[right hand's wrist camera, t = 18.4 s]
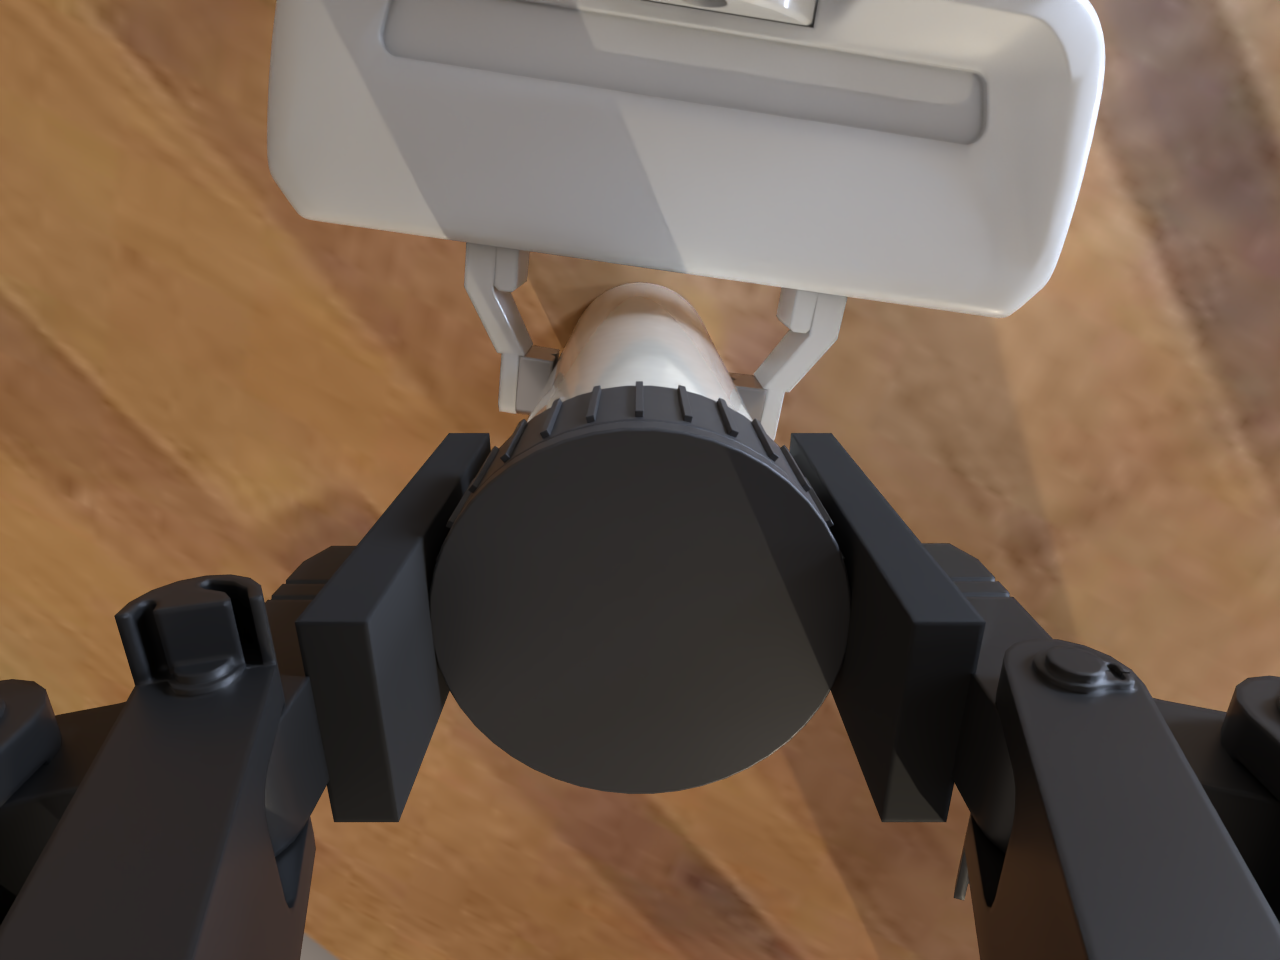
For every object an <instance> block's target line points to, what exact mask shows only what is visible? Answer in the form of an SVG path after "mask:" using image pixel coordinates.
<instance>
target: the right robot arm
mask: <svg viewBox="0 0 1280 960" xmlns="http://www.w3.org/2000/svg"><path fill="white" fill-rule="evenodd" d="M490 452H491V449H490V437H489V433H449V434H448V435H447V436H446V438H445V439H444V440H443V441H442V443H441V444H440V445H439V446H438V447H437V449H436V450H435V451H434V452H433V454H432V455H431V456H430V457H429V458H428V460H427V461H426V462H425V463H424V464H423V466H422V467H421V468H420V469H419V471H418V472H417V473H416V474H415V475H414V477H413V478H412V479H411V480H410V482H409V483H408V484H407V485H406V486H405V488H404V489H403V490H402V491H401V493H400V494H399V495H398V496H397V497H396V499H395V500H394V501H393V502H392V504H391V505H390V506H389V507H388V508H387V510H386V511H385V512H384V513H383V515H382V516H381V517H380V518H379V519H378V521H377V522H376V523H375V524H374V526H373V527H372V528H371V529H370V530H369V532H368V533H367V534H366V535H365V537H364V538H363V539H362V540H361V541H360V543H359V544H358V545H357V546H331V547H329V548H327V549H325V550H323V551H322V552H320V553H318V554H316V555H315V556H313V557H311V558H309V559H307V560H306V561H304V562H303V563H302V564H301V565H300V566H299V567H298V568H297V569H296V570H295V571H294V572H293V573H292V574H291V576H290V577H289V578H288V579H287V580H286V584H282V585H281V586H280V587H279V588H278V589H277V591H276V592H275V593H274V594H273V595H272V599H271V600H267V601H266V602H264V598H263V593H262V588H261V585H259V584H258V583H257V582H255V581H254V580H252V579H251V578H248V577H242V576H236V575H209V576H202V577H197V578H191V579H186V580H181V581H177V582H174V583H171V584H169V585H166V586H163V587H160V588H157V589H154V590H151V591H150V592H148V593H146V594H144V595H142V596H140V597H138V598H136V599H135V600H133V601H131V602H129V603H128V604H127V605H126V606H125V607H124V608H122V609H121V610H120V611H119V612H118V613H117V614H116V615H115V620H116V623H117V626H118V630H119V633H120V636H121V640H122V643H123V646H124V649H125V653H126V656H127V659H128V663H129V666H130V669H131V673H132V676H133V679H134V683H135V687H134V689H133V691H132V693H131V694H130V696H129V698H128V700H127V701H126V702H123V703H119V704H114V705H108V706H103V707H98V708H93V709H87V710H82V711H77V712H71V713H66V714H61V715H56V716H55V715H54V712H53V709H52V706H51V703H50V700H49V698H48V695H47V692H46V689H44V688H43V687H41V686H40V685H38V684H37V683H36V682H34V681H25V680H15V679H10V680H2V681H0V960H300V955H301V948H302V941H303V934H304V927H305V920H306V913H307V906H308V899H309V892H310V885H311V878H312V871H313V865H314V858H315V851H316V847H315V839H314V832H313V828H312V823H311V818H310V815H311V813H312V811H313V810H314V808H315V806H316V804H317V802H318V800H319V798H320V797H321V795H322V793H323V791H324V789H325V787H326V785H327V788H328V793H329V798H330V803H331V809H332V814H333V819H334V822H399V820H400V817H401V814H402V812H403V809H404V807H405V804H406V802H407V799H408V796H409V794H410V791H411V789H412V786H413V784H414V781H415V778H416V776H417V773H418V771H419V768H420V766H421V763H422V760H423V758H424V755H425V753H426V750H427V747H428V745H429V742H430V740H431V737H432V735H433V732H434V729H435V727H436V724H437V722H438V719H439V717H440V714H441V711H442V709H443V706H444V704H445V701H446V699H447V696H448V693H449V691H450V690H449V689H448V687H447V684H446V682H445V680H444V678H443V675H442V673H441V671H440V669H439V666H438V663H437V660H436V656H435V651H434V644H433V635H432V627H431V619H430V609H429V591H430V586H431V580H432V575H433V570H434V567H435V564H436V561H435V559H436V557H437V556H438V554H439V552H440V549H441V546H442V544H443V542H444V541H445V539H446V537H447V535H448V533H449V531H450V528H448V527H446V525H447V522H448V520H449V519H450V517H451V515H452V514H453V512H454V510H455V509H456V507H457V505H458V504H459V502H460V500H461V499H462V497H463V495H464V494H465V492H466V490H467V489H468V487H469V485H470V484H471V482H472V480H473V479H474V478H475V477H476V475H477V474H478V472H479V470H480V469H481V467H482V465H483V463H484V462H485V460H486V458H487V457H488V455H489V453H490ZM790 454H791V455H792V457H793V459H794V460H795V462H796V464H797V465H798V467H799V469H800V470H801V472H802V474H803V476H804V477H806V478H807V480H808V482H809V483H810V485H811V487H812V488H813V490H814V492H815V493H816V495H817V497H818V498H819V500H820V502H821V503H822V505H823V507H824V508H825V510H826V512H827V513H828V515H829V517H830V518H831V520H832V522H833V524H834V525H833V526H831V527H829V529H830V531H831V533H832V535H833V537H834V538H835V540H836V542H837V544H838V547H839V549H840V551H841V552H842V554H843V556H844V558H845V566H846V570H847V575H848V580H849V585H850V591H851V613H850V622H849V631H848V639H847V646H846V653H845V657H844V660H843V664H842V666H841V669H840V671H839V673H838V676H837V678H836V680H835V683H834V685H833V687H832V688H831V692H832V695H833V697H834V700H835V703H836V705H837V708H838V710H839V713H840V715H841V718H842V721H843V723H844V726H845V728H846V731H847V733H848V736H849V739H850V741H851V744H852V746H853V749H854V751H855V754H856V757H857V759H858V762H859V764H860V767H861V770H862V772H863V775H864V777H865V780H866V782H867V785H868V788H869V790H870V793H871V795H872V798H873V800H874V803H875V806H876V808H877V811H878V813H879V816H880V818H881V821H882V822H946V821H947V816H948V811H949V806H950V801H951V796H952V791H953V786H954V782H955V784H956V786H957V788H958V790H959V792H960V794H961V795H962V797H963V799H964V801H965V803H966V805H967V807H968V808H969V810H970V812H971V814H970V818H969V823H968V828H967V832H966V837H965V842H964V846H963V851H962V856H961V861H960V865H959V870H958V875H957V879H956V885H955V892H954V898H956V899H960V900H964V899H965V895H966V890H967V886H968V884H970V891H971V898H972V905H973V911H974V918H975V925H976V932H977V939H978V946H979V953H980V960H1280V677H1275V676H1262V677H1253V678H1247V679H1246V680H1244V681H1243V682H1241V683H1240V684H1238V685H1237V686H1236V688H1235V691H1234V694H1233V697H1232V699H1231V702H1230V705H1229V708H1228V711H1227V712H1222V711H1217V710H1212V709H1206V708H1201V707H1196V706H1190V705H1185V704H1180V703H1174V702H1169V701H1164V700H1159V699H1155V698H1152V697H1151V695H1150V693H1149V691H1148V689H1147V688H1146V686H1145V684H1144V683H1143V682H1142V681H1141V680H1140V679H1139V678H1138V677H1137V675H1136V674H1135V673H1134V672H1133V671H1132V670H1131V669H1130V668H1128V667H1126V666H1125V665H1123V664H1122V663H1120V662H1119V661H1117V660H1115V659H1114V658H1112V657H1111V656H1109V655H1106V654H1104V653H1101V652H1099V651H1097V650H1094V649H1092V648H1089V647H1087V646H1084V645H1080V644H1075V643H1071V642H1067V641H1063V640H1058V639H1052V638H1051V637H1050V636H1049V635H1048V634H1047V633H1046V631H1045V630H1044V629H1043V628H1042V627H1041V626H1040V625H1039V624H1038V623H1037V622H1036V621H1035V620H1034V619H1033V618H1032V617H1031V615H1030V614H1029V613H1028V612H1027V611H1026V610H1025V609H1024V608H1023V607H1022V606H1021V605H1020V604H1019V603H1018V602H1017V601H1016V600H1015V598H1014V597H1010V596H1009V592H1008V591H1007V590H1006V589H1005V588H1004V587H1003V586H1002V585H1001V584H1000V582H999V581H995V577H994V576H993V575H992V574H991V573H990V572H989V571H988V570H987V569H986V568H985V566H984V565H983V564H982V563H981V562H980V561H979V560H978V559H976V558H975V557H973V556H971V555H969V554H967V553H966V552H964V551H962V550H960V549H958V548H956V547H955V546H953V545H951V544H949V543H921V542H920V541H919V540H918V538H917V537H916V536H915V535H914V534H913V532H912V531H911V530H910V529H909V527H908V526H907V525H906V524H905V523H904V521H903V520H902V519H901V518H900V516H899V515H898V514H897V513H896V512H895V510H894V509H893V508H892V507H891V505H890V504H889V503H888V502H887V501H886V499H885V498H884V497H883V496H882V494H881V493H880V492H879V491H878V490H877V488H876V487H875V486H874V485H873V483H872V482H871V481H870V480H869V479H868V477H867V476H866V475H865V474H864V472H863V471H862V470H861V469H860V468H859V466H858V465H857V464H856V463H855V461H854V460H853V459H852V458H851V457H850V455H849V454H848V453H847V452H846V450H845V449H844V448H843V447H842V446H841V444H840V443H839V442H838V441H837V439H836V438H835V437H834V436H833V435H832V433H791V442H790Z"/></svg>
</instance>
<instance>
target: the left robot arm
mask: <svg viewBox="0 0 1280 960" xmlns="http://www.w3.org/2000/svg"><path fill="white" fill-rule="evenodd" d="M1104 72H1105V45H1104V38H1103V32H1102V28H1101V24H1100V21H1099V19H1098V16H1097V14H1096V12H1095V10H1094V8H1093V6H1092V5H1091V3H1090V2H1089V1H1088V0H277V1H276V9H275V18H274V27H273V35H272V46H271V59H270V72H269V89H268V115H267V158H268V165H269V170H270V173H271V175H272V177H273V179H274V181H275V182H276V184H277V185H278V187H279V188H280V189H281V191H282V192H283V194H284V195H285V197H286V198H287V200H288V201H289V202H290V204H291V205H292V206H293V208H294V209H295V210H296V212H297V213H298V214H299V215H300V216H302V217H304V218H305V219H309V220H315V221H321V222H328V223H335V224H342V225H349V226H356V227H363V228H370V229H377V230H384V231H391V232H398V233H405V234H412V235H419V236H426V237H433V238H440V239H447V240H454V241H461V242H466V262H465V282H464V287H465V289H466V291H467V293H468V295H469V297H470V299H471V301H472V303H473V305H474V307H475V309H476V311H477V313H478V315H479V317H480V319H481V321H482V323H483V325H484V327H485V329H486V331H487V333H488V335H489V337H490V339H491V341H492V343H493V345H494V347H495V349H496V352H497V353H501V354H502V355H501V370H500V384H499V399H498V406H499V411H502V412H508V413H513V414H516V413H517V414H526V415H530V414H531V412H532V410H533V408H534V406H535V404H536V402H537V400H538V398H539V396H540V394H541V392H542V390H543V388H544V386H545V384H546V382H547V380H548V378H549V377H550V375H551V373H552V371H553V369H554V367H555V365H556V363H557V361H558V359H559V349H553V348H547V347H541V346H534V345H533V342H532V340H531V338H530V336H529V333H528V331H527V329H526V326H525V324H524V322H523V319H522V317H521V315H520V313H519V310H518V308H517V306H516V303H515V301H514V299H513V297H512V294H511V292H513V291H514V290H515V289H517V288H518V287H520V286H521V285H522V284H524V283H525V282H526V281H527V275H528V264H529V253H530V251H531V252H538V253H545V254H552V255H559V256H566V257H573V258H580V259H587V260H594V261H601V262H608V263H615V264H622V265H629V266H636V267H643V268H650V269H657V270H664V271H671V272H678V273H685V274H692V275H699V276H706V277H713V278H720V279H727V280H734V281H741V282H748V283H755V284H762V285H769V286H776V287H782V288H781V294H780V299H779V305H778V310H777V315H776V316H777V318H778V319H779V321H781V322H782V323H783V324H784V325H785V326H787V327H788V328H789V329H790V330H789V331H788V332H787V334H786V335H785V336H784V337H783V338H782V340H781V341H780V342H779V343H778V345H777V346H776V347H775V348H774V349H773V351H772V352H771V353H770V354H769V356H768V357H767V358H766V359H765V361H764V362H763V363H762V364H761V365H760V367H759V368H758V369H757V370H756V372H755V373H754V375H755V376H754V375H746V374H737V373H729V375H730V377H731V379H732V381H733V383H734V385H735V386H736V388H737V390H738V392H739V394H740V396H741V398H742V400H743V402H744V404H745V406H746V408H747V410H748V412H749V414H750V416H751V418H752V420H754V419H755V418H756V419H757V420H758V421H760V423H761V425H762V426H763V428H764V430H765V432H766V434H767V435H768V436H769V437H770V438H771V439H772V440H773V441H774V439H775V435H776V431H777V426H778V421H779V417H780V412H781V407H782V403H783V398H784V393H785V392H790V391H791V390H792V389H793V388H794V386H795V385H796V384H797V383H798V382H799V381H800V380H801V379H802V378H803V377H804V375H805V374H806V373H807V372H808V371H809V370H810V369H811V368H812V367H813V366H814V364H815V363H816V362H817V361H818V360H819V359H820V358H821V357H822V356H823V354H824V353H825V352H826V351H827V350H828V349H829V348H830V347H831V346H832V345H833V343H834V342H835V341H836V340H837V338H838V334H839V330H840V326H841V322H842V317H843V313H844V309H845V305H846V301H847V297H853V298H860V299H867V300H874V301H881V302H888V303H895V304H902V305H909V306H916V307H923V308H930V309H937V310H944V311H951V312H958V313H965V314H972V315H980V316H987V317H994V318H1005V317H1007V316H1009V315H1011V314H1012V313H1014V312H1015V311H1016V310H1018V309H1019V308H1020V307H1022V306H1023V305H1024V304H1025V303H1026V302H1027V301H1028V300H1030V299H1031V298H1032V297H1033V296H1034V295H1035V294H1036V293H1038V292H1039V291H1040V290H1041V289H1042V288H1043V287H1044V286H1045V285H1046V283H1047V282H1048V281H1049V279H1050V277H1051V275H1052V273H1053V271H1054V269H1055V267H1056V264H1057V261H1058V259H1059V256H1060V253H1061V250H1062V247H1063V244H1064V241H1065V238H1066V235H1067V232H1068V229H1069V225H1070V222H1071V219H1072V215H1073V212H1074V209H1075V205H1076V202H1077V198H1078V194H1079V191H1080V187H1081V184H1082V180H1083V176H1084V172H1085V168H1086V164H1087V159H1088V155H1089V151H1090V147H1091V143H1092V138H1093V134H1094V129H1095V125H1096V120H1097V115H1098V110H1099V105H1100V100H1101V95H1102V89H1103V81H1104Z"/></svg>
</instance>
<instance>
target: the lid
mask: <svg viewBox="0 0 1280 960" xmlns="http://www.w3.org/2000/svg"><path fill="white" fill-rule="evenodd" d="M833 525H834V524H833V522H832V520H831V518H830V517H829V515H828V513H827V512H826V510H825V508H824V507H823V505H822V503H821V502H820V500H819V498H818V497H817V495H816V493H815V492H814V490H813V488H812V487H811V485H810V483H809V482H808V480H807V478H806V477H804V476H803V474H802V472H801V470H800V469H799V467H798V465H797V464H796V462H795V460H794V459H793V457H792V455H791V454H790V452H789V450H788V449H787V448H786V446H785V445H784V446H782V447H781V448H780V447H779V446H778V445H777V444H776V443H775V442H774V441H773V440H772V439H771V438H770V437H769V436H768V435H767V434H766V432H765V430H764V428H763V426H762V425H761V423H760V421H758V420H757V419H756V418H755V419H754V420H753V421H750V420H749V419H748V418H746V417H745V416H744V415H742V414H740V413H738V412H736V411H735V410H733V409H731V408H729V407H728V406H727V403H726V401H725V400H724V399H721V398H719V399H718V401H715V400H712V399H710V398H707V397H705V396H702V395H699V394H695V393H692V392H688V391H686V387H685V386H681V385H679V386H678V389H676V388H668V387H660V386H643V381H636V386H620V387H613V388H605V389H601V386H600V385H599V386H594V387H593V391H592V392H589V393H585V394H581V395H578V396H575V397H573V398H570V399H568V400H566V401H563V402H562V401H561V399H560V398H559V399H556V400H554V401H553V404H552V406H551V408H549V409H547V410H545V411H544V412H542V413H540V414H538V415H537V416H535V417H534V418H532V419H531V420H530V421H528V422H527V421H526V420H525V419H523V420H522V421H520V422H519V424H518V426H517V427H516V429H515V431H514V433H513V435H512V436H511V437H510V438H509V439H508V440H507V441H506V442H505V443H504V444H503V445H502V446H501V447H500V448H497V447H496V446H494V448H493V449H492V450H491V452H490V453H489V455H488V457H487V458H486V460H485V462H484V463H483V465H482V467H481V469H480V470H479V472H478V474H477V475H476V477H475V478H474V479H473V480H472V482H471V484H470V485H469V487H468V489H467V490H466V492H465V494H464V495H463V497H462V499H461V500H460V502H459V504H458V505H457V507H456V509H455V510H454V512H453V514H452V515H451V517H450V519H449V520H448V522H447V525H446V527H448V528H450V531H449V533H448V535H447V537H446V539H445V541H444V542H443V544H442V546H441V549H440V552H439V554H438V556H437V557H436V559H435V561H436V564H435V567H434V570H433V575H432V580H431V586H430V591H429V609H430V619H431V627H432V635H433V644H434V651H435V656H436V660H437V663H438V666H439V669H440V671H441V673H442V675H443V678H444V680H445V682H446V684H447V687H448V689H449V690H450V692H451V693H452V695H453V697H454V698H455V700H456V701H457V703H458V705H459V706H460V708H461V709H462V710H463V711H464V713H465V714H466V715H467V716H468V718H469V719H470V720H471V721H472V722H473V724H474V725H475V726H476V727H477V728H478V729H479V730H480V731H481V732H482V733H483V734H484V735H486V736H487V737H488V738H489V739H490V740H491V741H492V742H493V743H494V744H496V745H497V746H498V747H500V748H501V749H502V750H504V751H505V752H506V753H508V754H509V755H510V756H512V757H513V758H515V759H517V760H519V761H520V762H522V763H524V764H526V765H527V766H529V767H531V768H532V769H534V770H537V771H539V772H541V773H544V774H546V775H548V776H550V777H553V778H555V779H558V780H561V781H564V782H567V783H571V784H574V785H577V786H580V787H585V788H590V789H595V790H600V791H606V792H617V793H627V794H654V793H664V792H673V791H680V790H685V789H690V788H694V787H699V786H703V785H707V784H710V783H713V782H716V781H719V780H722V779H725V778H728V777H730V776H732V775H734V774H736V773H739V772H741V771H743V770H745V769H748V768H750V767H751V766H753V765H755V764H756V763H758V762H760V761H761V760H763V759H765V758H766V757H768V756H770V755H771V754H772V753H774V752H775V751H776V750H778V749H779V748H780V747H782V746H783V745H784V744H786V743H787V742H788V741H789V740H790V739H792V738H793V737H794V736H795V735H796V734H797V733H798V732H799V731H800V730H801V729H802V728H803V727H804V726H805V725H806V724H807V723H808V721H809V720H810V719H811V718H812V716H813V715H814V714H815V713H816V711H817V710H818V709H819V708H820V706H821V705H822V703H823V702H824V700H825V698H826V697H827V695H828V693H829V692H830V690H831V688H832V687H833V685H834V683H835V680H836V678H837V676H838V673H839V671H840V669H841V666H842V664H843V660H844V657H845V653H846V646H847V639H848V631H849V622H850V613H851V591H850V585H849V580H848V575H847V570H846V566H845V558H844V556H843V554H842V552H841V551H840V549H839V547H838V544H837V542H836V540H835V538H834V537H833V535H832V533H831V531H830V529H829V527H831V526H833Z"/></svg>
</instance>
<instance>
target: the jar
mask: <svg viewBox="0 0 1280 960" xmlns="http://www.w3.org/2000/svg"><path fill="white" fill-rule="evenodd" d="M636 381H643V386H660V387H668V388H676V389H678V386H679V385H681V386H685V387H686V391H688V392H692V393H695V394H699V395H702V396H705V397H707V398H710V399H712V400H715V401H718V399H719V398H721V399H724V400H725V401H726V403H727V406H728V407H729V408H731V409H733V410H735V411H736V412H738V413H740V414H742V415H744V416H745V417H746V418H748V419H749V420H750V421H753V420H752V418H751V416H750V414H749V412H748V410H747V408H746V406H745V404H744V402H743V400H742V398H741V396H740V394H739V392H738V390H737V388H736V386H735V385H734V383H733V381H732V379H731V377H730V375H729V373H728V371H727V369H726V367H725V365H724V363H723V361H722V359H721V357H720V355H719V353H718V351H717V349H716V347H715V345H714V344H713V342H712V340H711V338H710V336H709V334H708V332H707V330H706V328H705V326H704V324H703V322H702V320H701V318H700V316H699V315H698V313H697V312H696V310H695V309H694V308H693V307H692V306H691V304H690V303H689V302H688V301H687V300H685V299H684V298H683V297H682V296H681V295H679V294H677V293H676V292H674V291H672V290H670V289H668V288H666V287H663V286H660V285H657V284H652V283H639V282H637V283H628V284H624V285H620V286H617V287H614V288H612V289H610V290H608V291H606V292H604V293H602V294H601V295H600V296H598V297H597V298H596V299H595V300H594V301H593V302H592V303H591V304H590V305H588V307H587V308H586V309H585V311H584V312H583V313H582V315H581V317H580V318H579V320H578V322H577V324H576V326H575V328H574V330H573V332H572V334H571V336H570V338H569V340H568V342H567V343H566V345H565V347H564V349H563V351H562V353H561V355H560V357H559V359H558V361H557V363H556V365H555V367H554V369H553V371H552V373H551V375H550V377H549V378H548V380H547V382H546V384H545V386H544V388H543V390H542V392H541V394H540V396H539V398H538V400H537V402H536V404H535V406H534V408H533V410H532V412H531V414H530V415H529V417H528V419H527V422H528V421H530V420H531V419H532V418H534V417H535V416H537V415H538V414H540V413H542V412H544V411H545V410H547V409H549V408H551V406H552V404H553V401H554V400H556V399H559V398H560V399H561V401H562V402H563V401H566V400H568V399H570V398H573V397H575V396H578V395H581V394H585V393H589V392H592V391H593V387H594V386H599V385H600V386H601V389H605V388H613V387H620V386H636Z"/></svg>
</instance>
